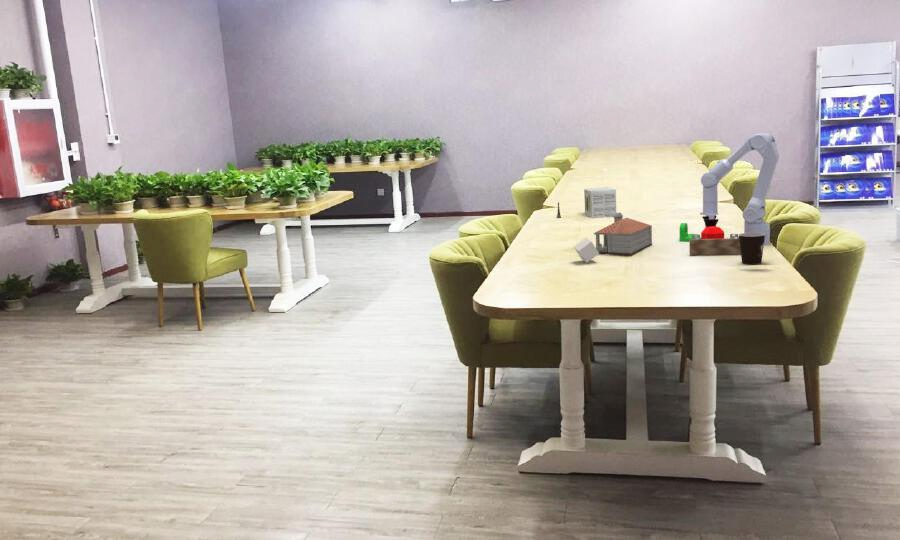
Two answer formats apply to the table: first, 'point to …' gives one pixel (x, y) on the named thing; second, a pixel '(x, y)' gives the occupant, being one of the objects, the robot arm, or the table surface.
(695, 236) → the grey round piece
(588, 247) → the light grey cube
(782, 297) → the table surface
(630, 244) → the model house
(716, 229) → the red black angular block
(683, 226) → the mechanical part
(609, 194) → the supplement box
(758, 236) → the coffee mug
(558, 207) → the eiffel tower figurine
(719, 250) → the backstop
